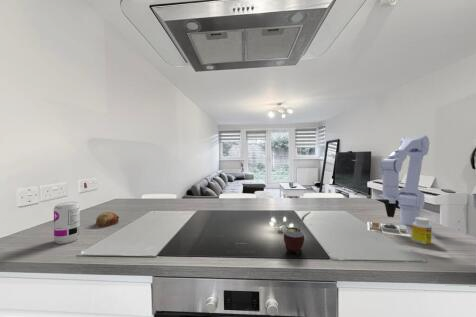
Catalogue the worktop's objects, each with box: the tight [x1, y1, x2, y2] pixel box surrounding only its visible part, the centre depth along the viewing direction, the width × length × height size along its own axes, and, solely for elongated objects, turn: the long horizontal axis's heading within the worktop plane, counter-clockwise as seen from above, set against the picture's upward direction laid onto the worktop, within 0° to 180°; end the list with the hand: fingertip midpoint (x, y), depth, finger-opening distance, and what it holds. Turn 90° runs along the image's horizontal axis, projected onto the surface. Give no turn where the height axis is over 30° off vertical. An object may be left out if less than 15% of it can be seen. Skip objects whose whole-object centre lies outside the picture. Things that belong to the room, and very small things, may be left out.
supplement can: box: [53, 201, 81, 245], centre depth 86 cm, size 8×8×15 cm
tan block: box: [371, 220, 380, 230], centre depth 94 cm, size 3×2×3 cm
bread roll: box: [94, 211, 120, 228], centre depth 107 cm, size 10×10×8 cm
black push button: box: [385, 223, 396, 229], centre depth 93 cm, size 3×3×2 cm
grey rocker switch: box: [398, 223, 408, 232], centre depth 91 cm, size 4×2×1 cm, turn 149°
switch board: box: [366, 221, 412, 238], centre depth 95 cm, size 14×15×3 cm
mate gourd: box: [283, 211, 311, 257], centre depth 75 cm, size 8×8×15 cm
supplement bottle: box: [411, 216, 432, 245], centre depth 81 cm, size 6×6×10 cm
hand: (390, 216), depth 92 cm, fingers closed
